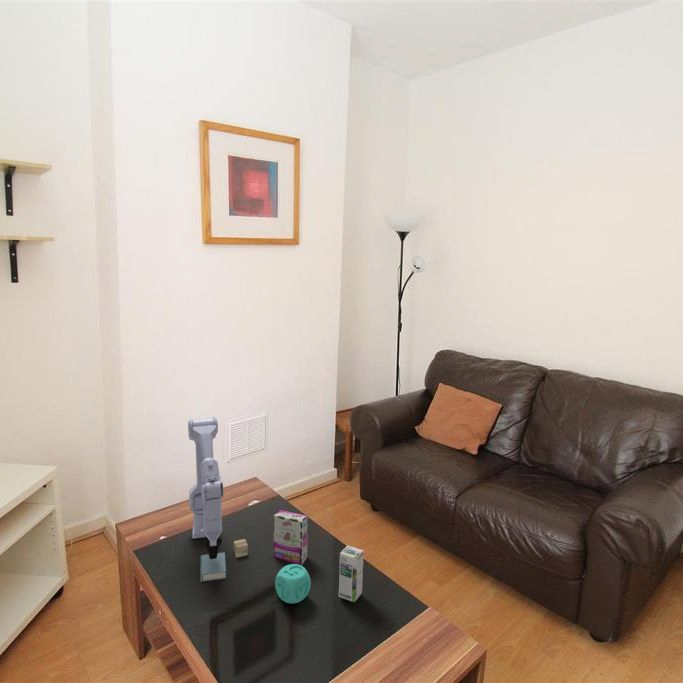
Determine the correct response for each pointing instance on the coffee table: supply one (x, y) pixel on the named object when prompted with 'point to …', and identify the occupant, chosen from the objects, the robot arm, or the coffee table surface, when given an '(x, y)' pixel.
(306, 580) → the decorative dice
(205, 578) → the book
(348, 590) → the syrup box
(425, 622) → the coffee table surface
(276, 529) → the candy bar box
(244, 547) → the beech block
